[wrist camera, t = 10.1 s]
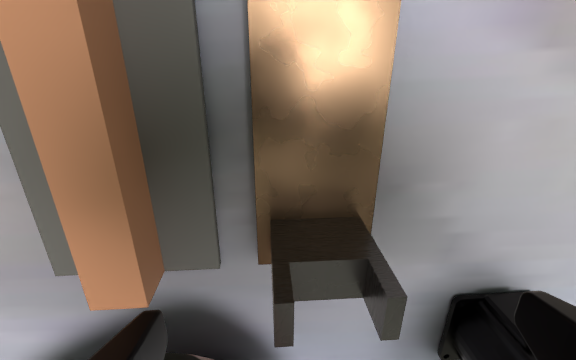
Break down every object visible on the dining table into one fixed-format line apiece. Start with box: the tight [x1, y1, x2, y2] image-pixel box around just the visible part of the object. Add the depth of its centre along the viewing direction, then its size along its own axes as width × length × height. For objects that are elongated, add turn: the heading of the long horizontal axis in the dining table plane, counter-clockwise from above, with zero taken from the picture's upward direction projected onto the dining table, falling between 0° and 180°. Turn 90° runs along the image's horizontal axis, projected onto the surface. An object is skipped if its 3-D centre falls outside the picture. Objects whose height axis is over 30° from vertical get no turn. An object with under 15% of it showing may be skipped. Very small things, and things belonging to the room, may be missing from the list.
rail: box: [0, 0, 165, 311], centre depth 14 cm, size 20×3×3 cm, turn 0°
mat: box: [0, 0, 221, 276], centre depth 15 cm, size 20×10×1 cm, turn 0°
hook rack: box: [248, 0, 407, 347], centre depth 13 cm, size 19×7×8 cm, turn 0°
